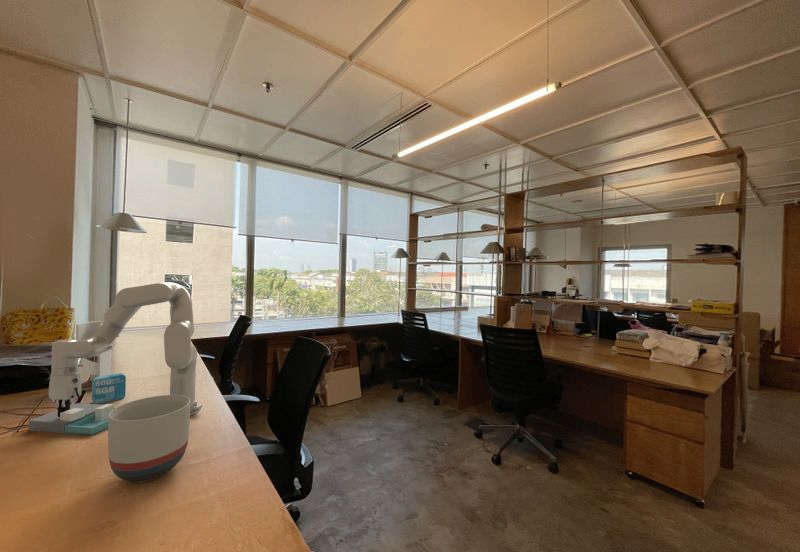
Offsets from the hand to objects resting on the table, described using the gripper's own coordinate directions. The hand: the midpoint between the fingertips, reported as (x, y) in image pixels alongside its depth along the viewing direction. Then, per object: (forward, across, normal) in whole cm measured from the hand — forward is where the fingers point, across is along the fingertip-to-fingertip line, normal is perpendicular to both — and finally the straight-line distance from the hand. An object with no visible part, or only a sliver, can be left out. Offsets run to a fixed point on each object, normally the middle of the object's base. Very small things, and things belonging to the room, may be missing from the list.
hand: (63, 415), depth 132 cm
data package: (+5, +10, -28) cm, 30 cm away
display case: (+5, +37, -43) cm, 57 cm away
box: (+5, -12, -5) cm, 14 cm away
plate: (+5, +2, -4) cm, 7 cm away
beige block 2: (+2, -7, -9) cm, 11 cm away
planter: (+5, -61, +23) cm, 66 cm away
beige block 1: (+1, -4, 0) cm, 5 cm away
